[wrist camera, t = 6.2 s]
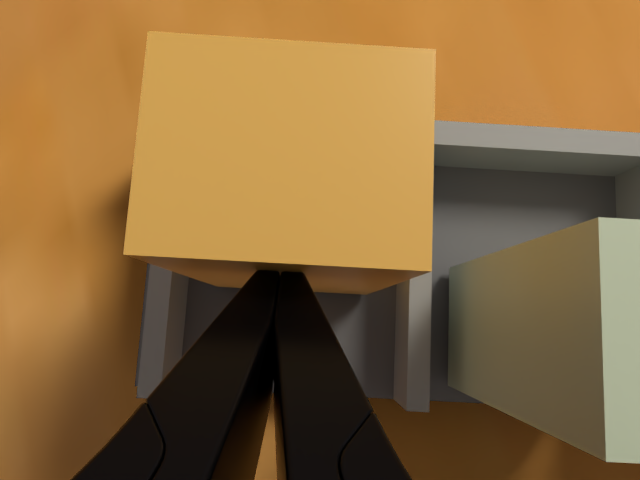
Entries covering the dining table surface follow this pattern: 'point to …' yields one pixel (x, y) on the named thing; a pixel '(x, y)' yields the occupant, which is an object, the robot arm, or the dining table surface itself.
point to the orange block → (284, 161)
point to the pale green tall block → (555, 334)
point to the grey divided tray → (447, 251)
